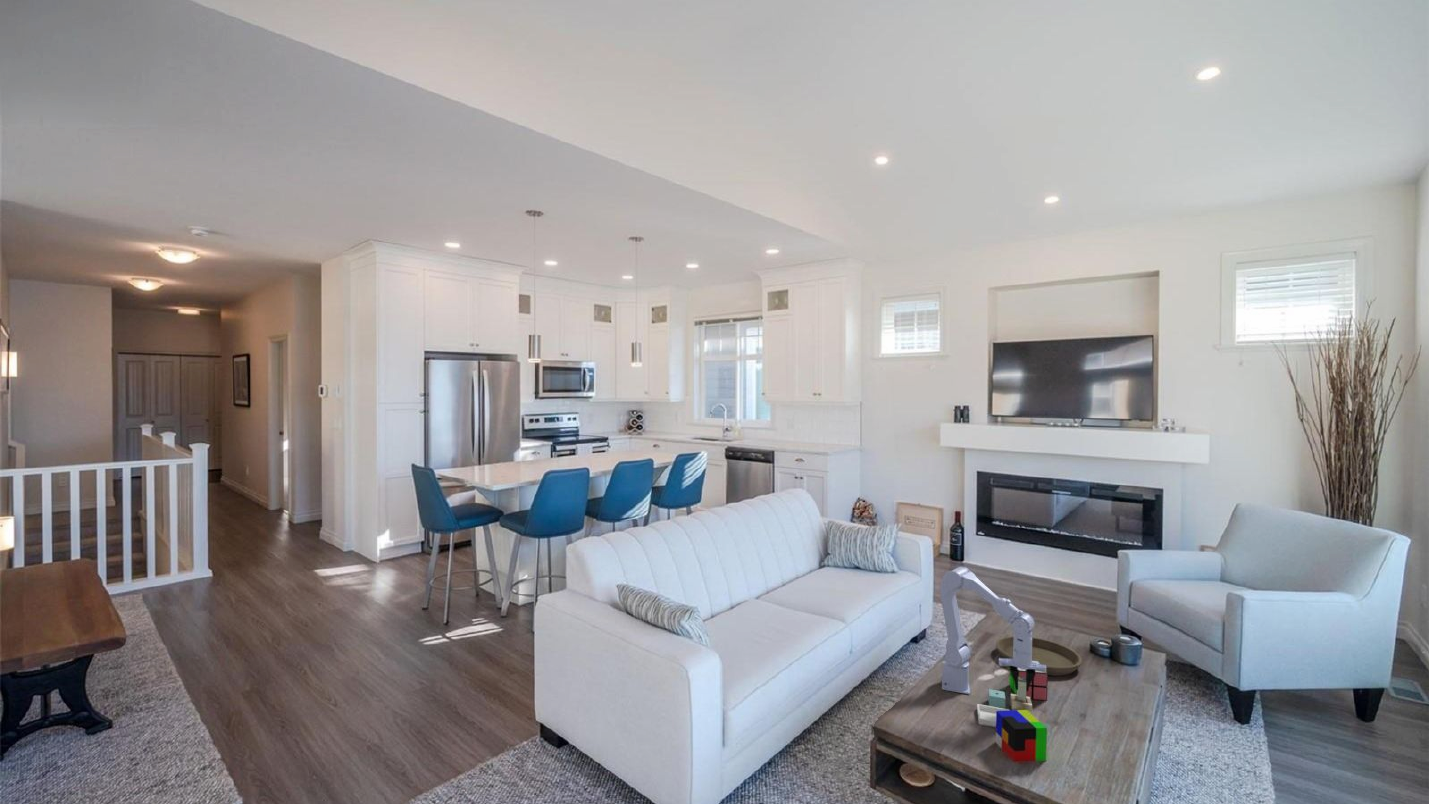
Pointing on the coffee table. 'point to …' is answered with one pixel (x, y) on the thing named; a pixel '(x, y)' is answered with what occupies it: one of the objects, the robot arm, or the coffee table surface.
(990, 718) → the tray
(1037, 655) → the plant saucer
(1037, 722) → the puzzle toy
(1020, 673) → the puzzle cube
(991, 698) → the teal block
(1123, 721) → the coffee table surface
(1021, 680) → the brushed steel block
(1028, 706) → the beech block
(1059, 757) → the coffee table surface
